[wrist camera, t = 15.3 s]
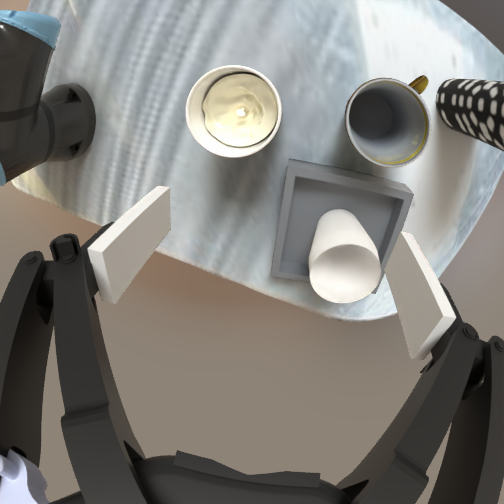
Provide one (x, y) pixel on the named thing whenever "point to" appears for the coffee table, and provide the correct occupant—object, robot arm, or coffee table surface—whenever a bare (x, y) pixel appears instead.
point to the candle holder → (233, 111)
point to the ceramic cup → (389, 121)
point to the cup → (343, 259)
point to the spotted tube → (474, 109)
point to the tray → (329, 198)
